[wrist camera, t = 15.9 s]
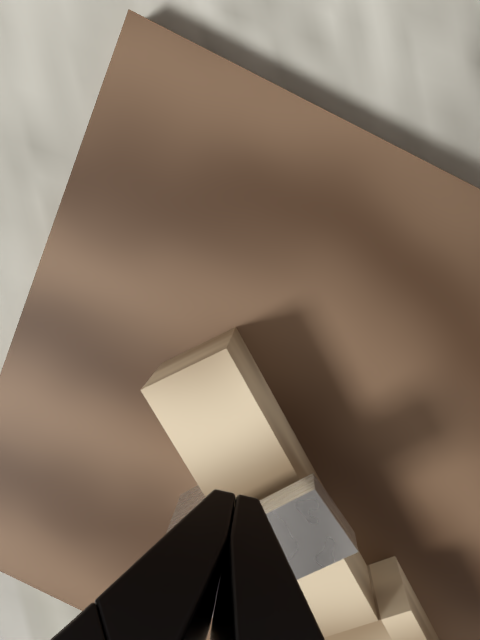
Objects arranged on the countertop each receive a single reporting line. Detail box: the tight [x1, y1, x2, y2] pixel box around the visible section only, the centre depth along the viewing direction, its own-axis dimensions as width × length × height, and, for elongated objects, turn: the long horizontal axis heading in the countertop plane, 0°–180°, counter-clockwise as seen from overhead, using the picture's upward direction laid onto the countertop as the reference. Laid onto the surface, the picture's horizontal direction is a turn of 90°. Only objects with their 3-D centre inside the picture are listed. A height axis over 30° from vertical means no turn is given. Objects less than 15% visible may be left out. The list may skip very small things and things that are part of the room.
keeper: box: [166, 473, 358, 618], centre depth 16 cm, size 2×6×4 cm, turn 124°
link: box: [141, 327, 439, 640], centre depth 17 cm, size 17×6×2 cm, turn 29°
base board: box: [0, 10, 480, 640], centre depth 16 cm, size 23×26×6 cm
